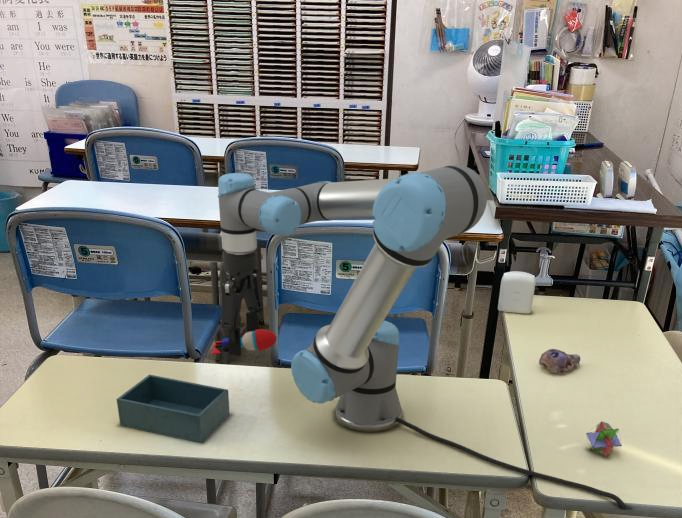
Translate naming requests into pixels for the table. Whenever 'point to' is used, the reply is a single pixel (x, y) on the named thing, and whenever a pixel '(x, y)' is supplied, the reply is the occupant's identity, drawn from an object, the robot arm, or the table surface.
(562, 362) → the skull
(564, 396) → the table surface
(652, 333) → the table surface
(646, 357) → the table surface
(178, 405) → the tote
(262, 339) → the toy figure
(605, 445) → the geometric puzzle
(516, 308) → the photo printer
